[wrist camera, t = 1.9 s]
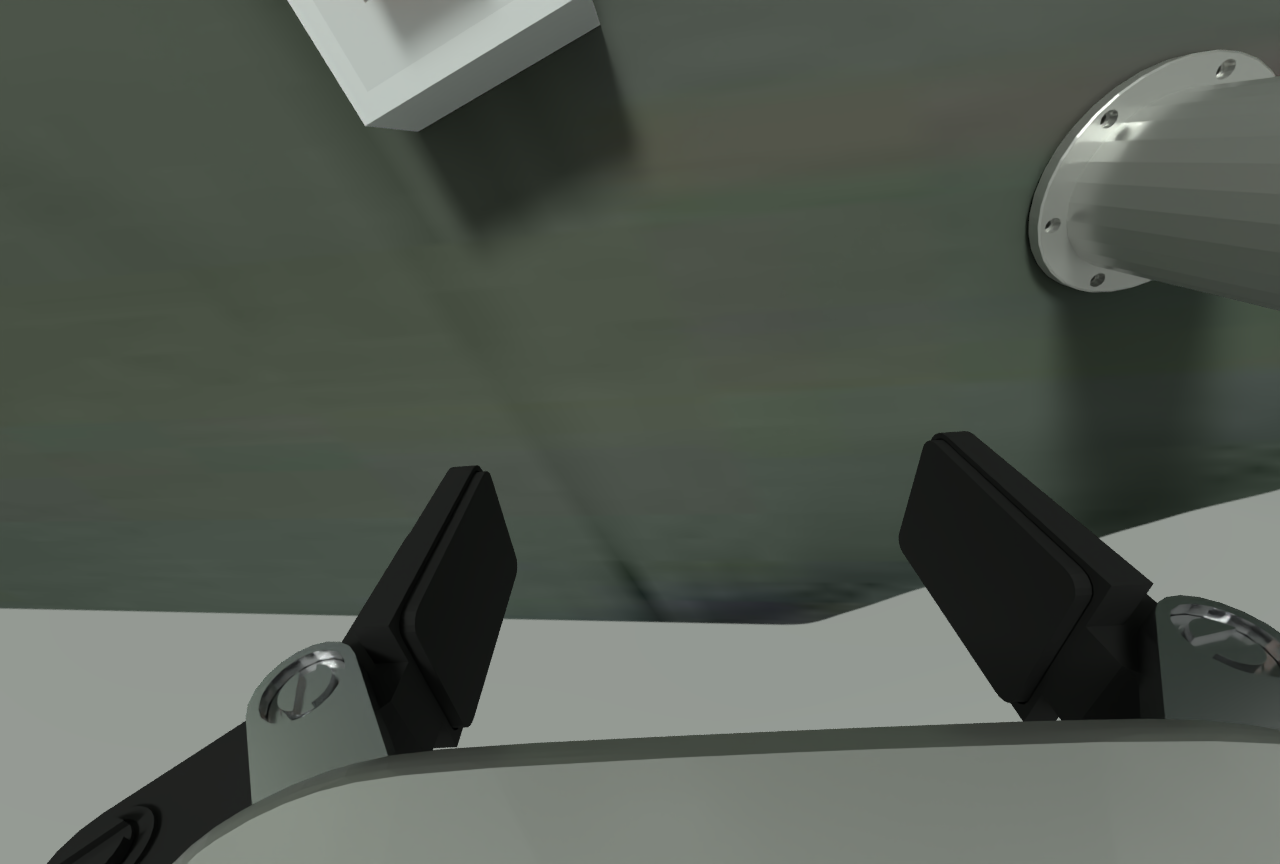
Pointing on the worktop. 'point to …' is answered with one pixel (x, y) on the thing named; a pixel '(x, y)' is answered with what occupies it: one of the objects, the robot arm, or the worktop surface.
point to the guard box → (434, 49)
